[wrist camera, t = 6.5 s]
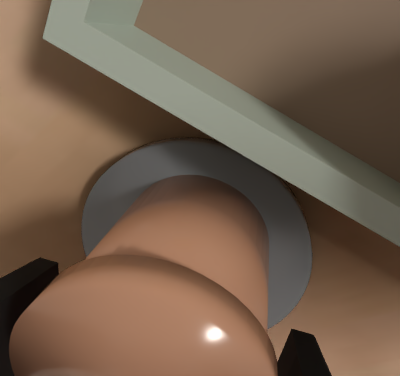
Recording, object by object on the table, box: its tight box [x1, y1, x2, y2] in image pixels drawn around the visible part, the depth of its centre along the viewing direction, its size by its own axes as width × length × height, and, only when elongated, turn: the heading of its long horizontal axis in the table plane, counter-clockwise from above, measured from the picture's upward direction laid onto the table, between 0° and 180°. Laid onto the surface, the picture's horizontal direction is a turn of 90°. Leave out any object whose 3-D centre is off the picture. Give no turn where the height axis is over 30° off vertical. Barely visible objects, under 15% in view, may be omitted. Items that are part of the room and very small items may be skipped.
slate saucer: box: [82, 137, 312, 329], centre depth 13 cm, size 9×9×1 cm
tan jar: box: [9, 175, 278, 376], centre depth 10 cm, size 6×6×6 cm
